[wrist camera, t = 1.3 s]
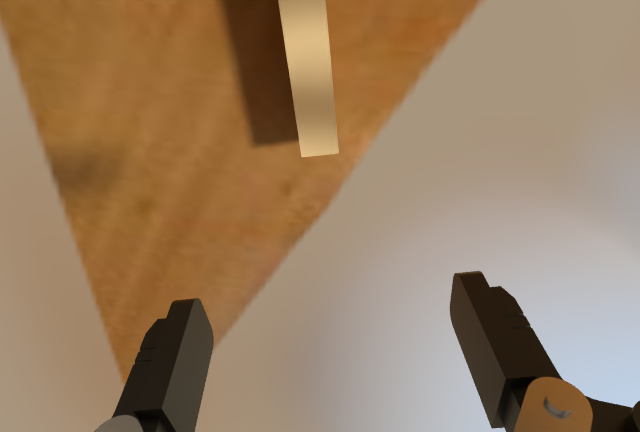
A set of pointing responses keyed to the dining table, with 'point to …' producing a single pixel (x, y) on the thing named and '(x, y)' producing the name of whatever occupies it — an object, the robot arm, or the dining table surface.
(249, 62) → the dining table surface
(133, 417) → the robot arm
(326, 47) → the beige bar
